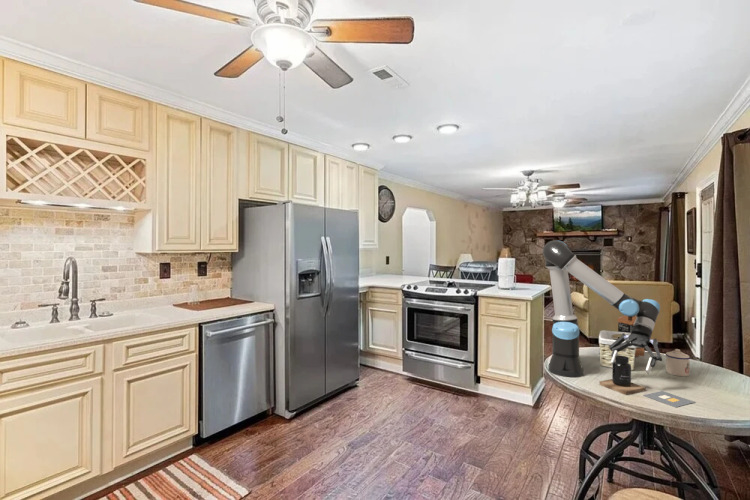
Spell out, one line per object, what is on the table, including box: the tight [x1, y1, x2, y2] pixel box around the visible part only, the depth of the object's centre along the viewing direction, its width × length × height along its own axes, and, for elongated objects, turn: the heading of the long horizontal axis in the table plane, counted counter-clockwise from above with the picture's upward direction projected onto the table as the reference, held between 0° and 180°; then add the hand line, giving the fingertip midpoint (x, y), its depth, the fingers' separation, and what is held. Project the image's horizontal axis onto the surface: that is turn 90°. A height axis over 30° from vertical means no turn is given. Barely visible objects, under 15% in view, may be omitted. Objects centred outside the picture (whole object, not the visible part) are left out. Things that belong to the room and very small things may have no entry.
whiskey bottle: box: [617, 315, 645, 357], centre depth 210 cm, size 10×10×32 cm
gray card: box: [643, 390, 696, 408], centre depth 150 cm, size 12×12×1 cm
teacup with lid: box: [665, 348, 691, 377], centre depth 180 cm, size 12×9×12 cm
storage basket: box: [598, 329, 637, 371], centre depth 194 cm, size 24×16×15 cm
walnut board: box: [599, 378, 646, 396], centre depth 161 cm, size 12×12×2 cm
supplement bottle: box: [611, 355, 632, 387], centre depth 161 cm, size 7×7×12 cm
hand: (629, 367), depth 164 cm, fingers open, 13 cm apart
